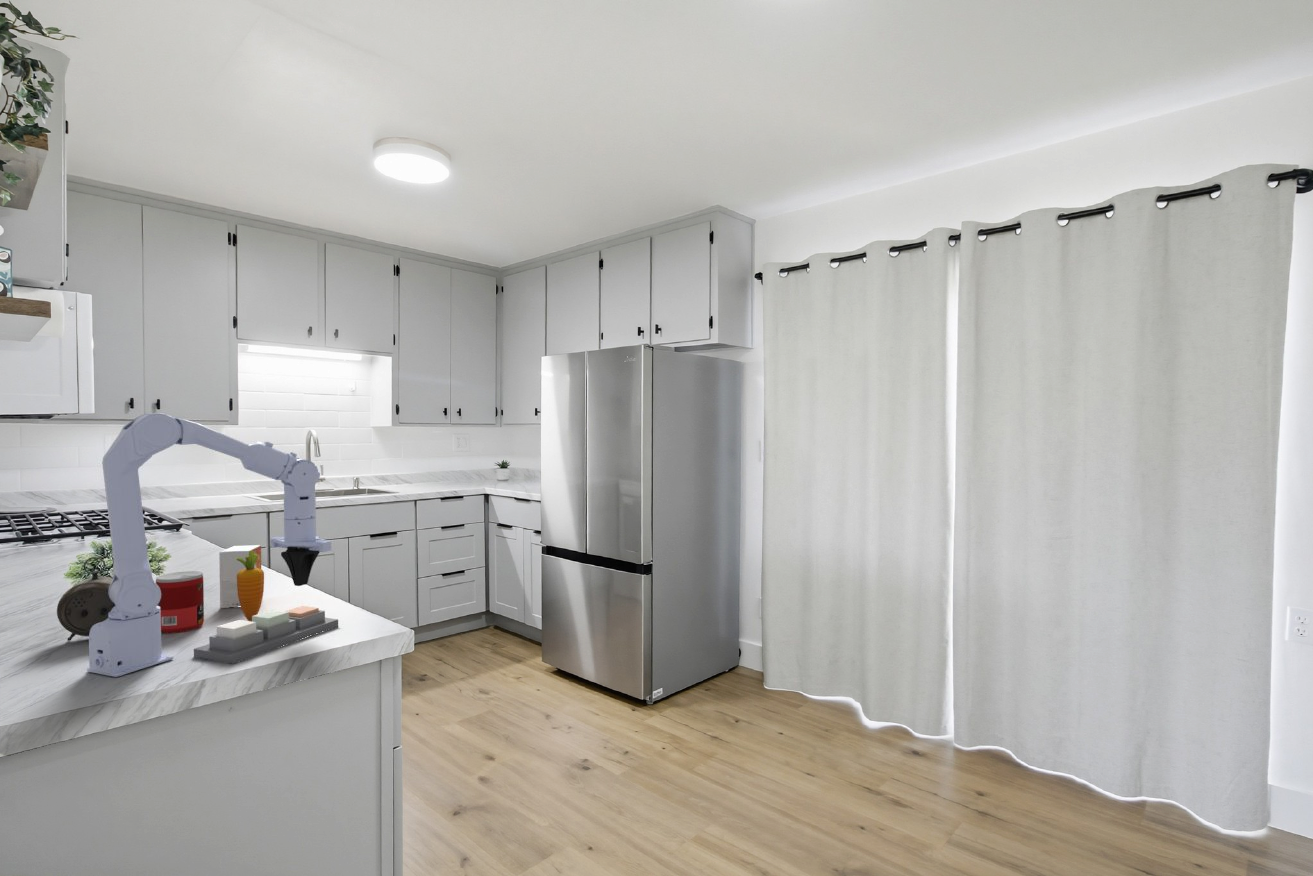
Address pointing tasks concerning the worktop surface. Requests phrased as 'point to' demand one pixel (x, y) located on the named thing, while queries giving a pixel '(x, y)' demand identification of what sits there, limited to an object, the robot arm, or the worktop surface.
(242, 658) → the keypad console
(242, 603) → the carrot
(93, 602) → the alarm clock
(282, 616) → the sage key
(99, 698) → the worktop surface
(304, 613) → the terracotta key
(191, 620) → the canned food
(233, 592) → the small box
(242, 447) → the robot arm
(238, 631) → the offwhite key
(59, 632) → the worktop surface
